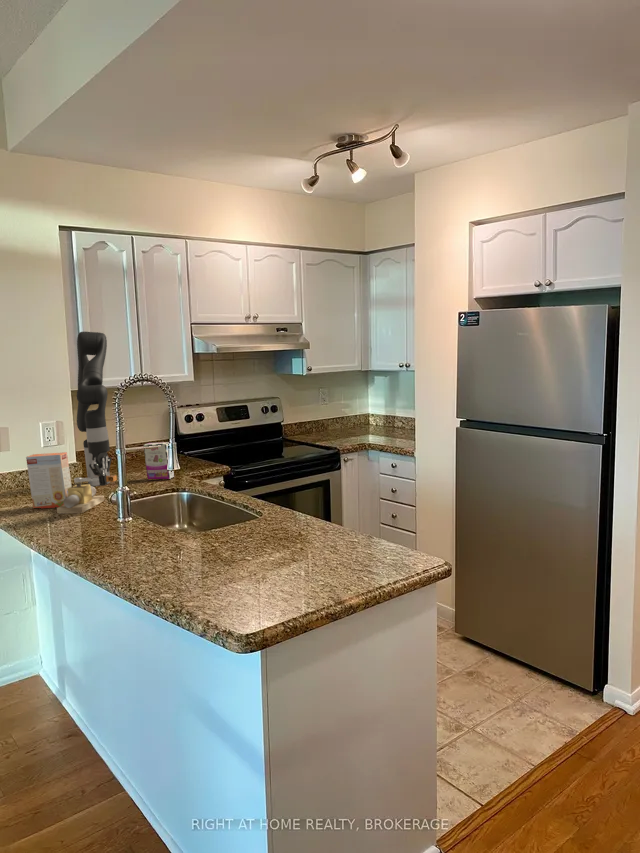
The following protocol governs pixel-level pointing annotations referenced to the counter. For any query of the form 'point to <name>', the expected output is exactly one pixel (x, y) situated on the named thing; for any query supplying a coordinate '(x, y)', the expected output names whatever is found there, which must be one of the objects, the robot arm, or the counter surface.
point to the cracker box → (48, 479)
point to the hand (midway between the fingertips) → (103, 485)
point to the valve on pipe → (80, 499)
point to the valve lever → (94, 479)
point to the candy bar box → (157, 461)
